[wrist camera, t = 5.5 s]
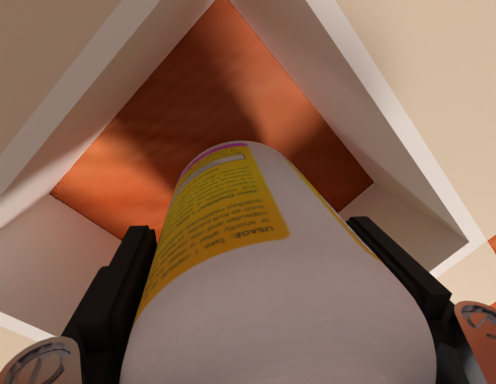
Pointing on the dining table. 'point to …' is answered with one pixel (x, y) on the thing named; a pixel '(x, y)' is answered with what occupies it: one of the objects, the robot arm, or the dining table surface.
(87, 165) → the dining table surface
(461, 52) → the carton
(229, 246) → the supplement bottle
